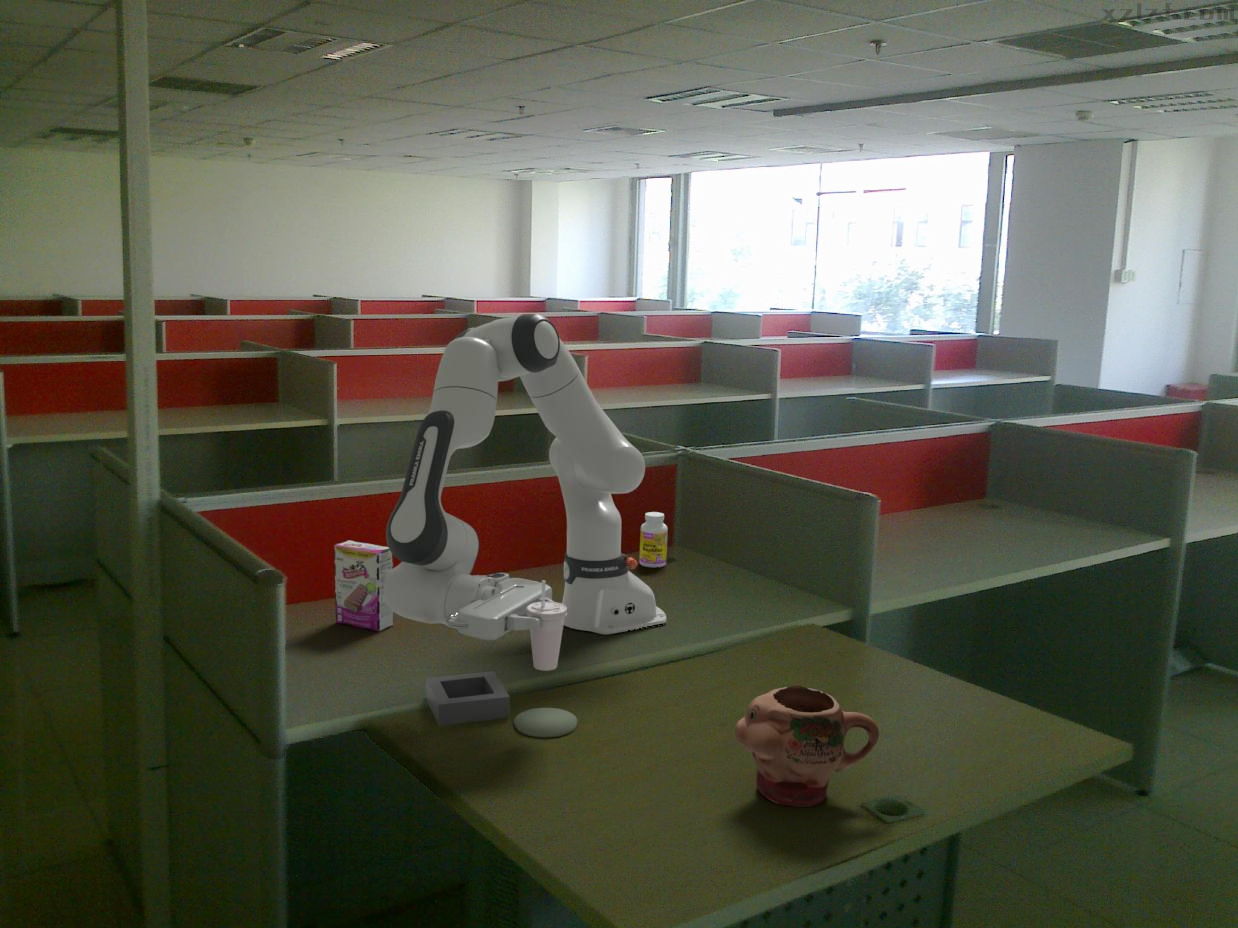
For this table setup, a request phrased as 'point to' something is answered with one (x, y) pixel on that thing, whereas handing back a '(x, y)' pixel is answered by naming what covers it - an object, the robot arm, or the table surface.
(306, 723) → the table surface
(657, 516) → the supplement bottle
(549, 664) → the smoothie
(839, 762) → the cartoon character mug
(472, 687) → the socket collar
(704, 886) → the table surface
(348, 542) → the candy bar box
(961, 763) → the table surface
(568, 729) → the rubber pad
